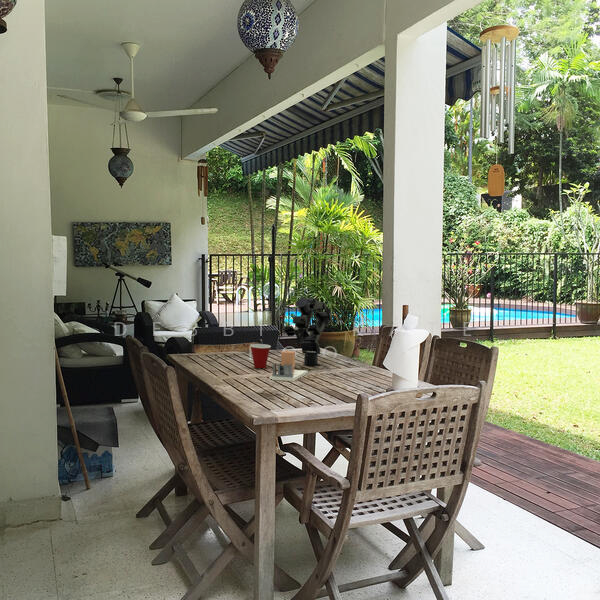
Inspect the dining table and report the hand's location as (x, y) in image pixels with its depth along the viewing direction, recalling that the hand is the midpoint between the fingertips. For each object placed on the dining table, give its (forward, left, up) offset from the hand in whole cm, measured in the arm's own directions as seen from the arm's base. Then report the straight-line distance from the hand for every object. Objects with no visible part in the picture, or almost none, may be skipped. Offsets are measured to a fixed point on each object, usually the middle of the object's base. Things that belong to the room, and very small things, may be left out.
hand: (298, 344), depth 322 cm
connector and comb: (+18, +13, -12) cm, 25 cm away
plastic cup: (+10, -19, -14) cm, 26 cm away
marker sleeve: (+13, +10, -11) cm, 20 cm away
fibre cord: (+13, +9, -11) cm, 19 cm away
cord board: (+12, +9, -13) cm, 20 cm away
